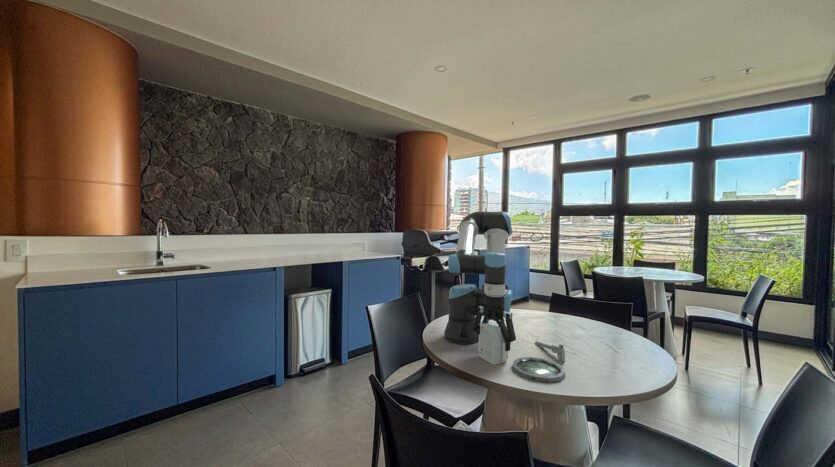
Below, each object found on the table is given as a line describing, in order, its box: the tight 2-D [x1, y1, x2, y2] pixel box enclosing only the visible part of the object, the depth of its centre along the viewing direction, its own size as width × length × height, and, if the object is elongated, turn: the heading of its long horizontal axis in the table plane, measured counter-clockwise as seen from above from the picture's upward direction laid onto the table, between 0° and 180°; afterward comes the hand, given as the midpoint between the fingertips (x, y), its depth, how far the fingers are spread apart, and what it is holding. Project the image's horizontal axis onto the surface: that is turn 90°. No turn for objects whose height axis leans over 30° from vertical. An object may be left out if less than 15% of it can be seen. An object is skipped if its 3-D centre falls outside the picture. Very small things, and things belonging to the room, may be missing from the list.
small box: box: [479, 320, 507, 365], centre depth 123 cm, size 8×6×13 cm
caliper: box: [533, 340, 566, 363], centre depth 132 cm, size 20×1×6 cm, turn 9°
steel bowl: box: [512, 356, 566, 384], centre depth 114 cm, size 16×16×2 cm
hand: (492, 355), depth 123 cm, fingers closed on small box, 9 cm apart
